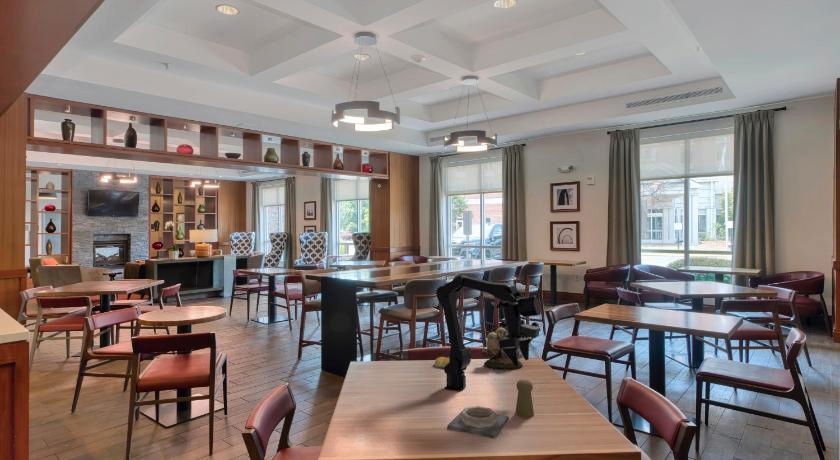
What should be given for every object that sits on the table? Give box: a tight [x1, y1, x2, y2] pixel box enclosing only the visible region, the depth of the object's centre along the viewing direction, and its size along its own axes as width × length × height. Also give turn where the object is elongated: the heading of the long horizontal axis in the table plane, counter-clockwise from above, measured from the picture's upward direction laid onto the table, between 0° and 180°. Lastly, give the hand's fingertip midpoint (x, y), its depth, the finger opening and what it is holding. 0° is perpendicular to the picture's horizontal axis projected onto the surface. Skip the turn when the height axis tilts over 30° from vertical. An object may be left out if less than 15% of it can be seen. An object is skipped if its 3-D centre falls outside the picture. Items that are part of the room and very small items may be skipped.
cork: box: [514, 379, 535, 419], centre depth 155 cm, size 6×6×11 cm
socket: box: [446, 405, 510, 439], centre depth 148 cm, size 15×15×4 cm
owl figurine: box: [481, 327, 524, 371], centre depth 210 cm, size 18×12×17 cm, turn 93°
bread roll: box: [434, 356, 449, 369], centre depth 210 cm, size 8×9×4 cm
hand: (522, 363), depth 166 cm, fingers open, 9 cm apart
